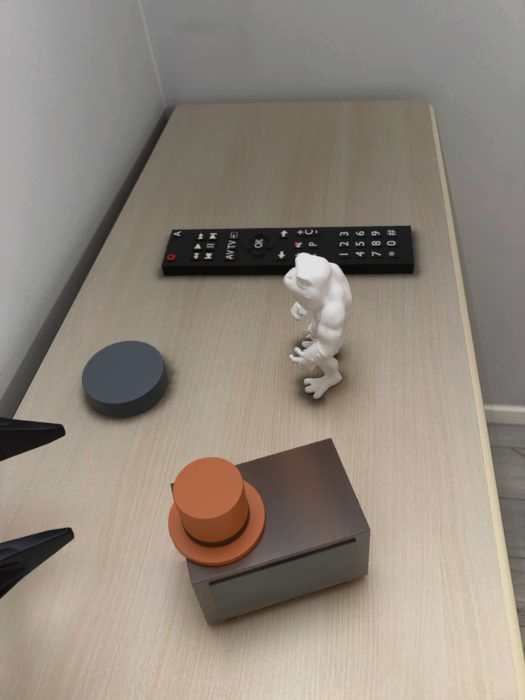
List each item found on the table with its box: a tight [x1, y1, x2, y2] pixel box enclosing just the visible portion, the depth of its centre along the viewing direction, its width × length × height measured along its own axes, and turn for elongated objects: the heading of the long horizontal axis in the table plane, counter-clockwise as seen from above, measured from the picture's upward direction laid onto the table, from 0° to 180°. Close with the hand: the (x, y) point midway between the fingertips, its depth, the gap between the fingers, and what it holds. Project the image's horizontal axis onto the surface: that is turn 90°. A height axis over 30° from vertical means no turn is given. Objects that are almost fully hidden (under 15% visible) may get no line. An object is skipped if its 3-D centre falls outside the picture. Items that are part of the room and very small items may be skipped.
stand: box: [81, 340, 169, 419], centre depth 74 cm, size 9×9×2 cm
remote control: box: [161, 225, 415, 276], centre depth 87 cm, size 8×32×2 cm, turn 85°
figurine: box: [282, 253, 353, 400], centre depth 69 cm, size 11×7×15 cm, turn 0°
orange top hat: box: [167, 456, 266, 566], centre depth 51 cm, size 8×8×5 cm
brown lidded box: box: [170, 437, 371, 626], centre depth 57 cm, size 14×9×9 cm, turn 105°
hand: (68, 477), depth 50 cm, fingers open, 9 cm apart
